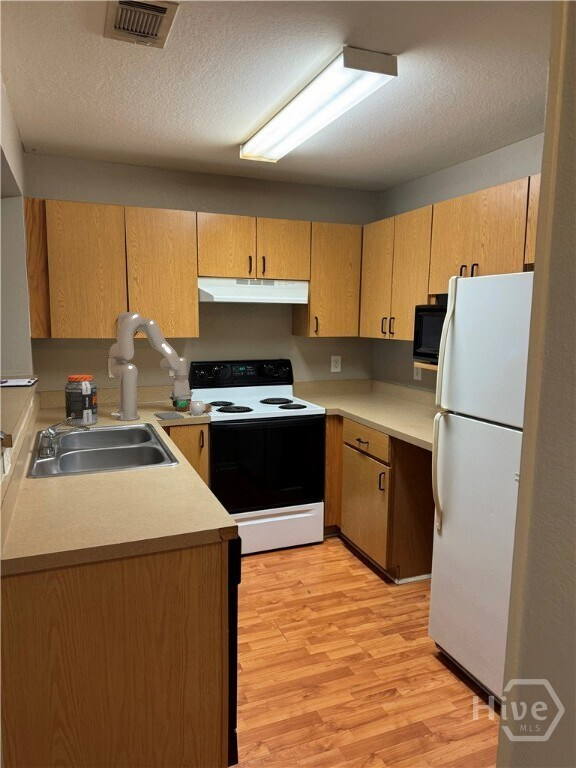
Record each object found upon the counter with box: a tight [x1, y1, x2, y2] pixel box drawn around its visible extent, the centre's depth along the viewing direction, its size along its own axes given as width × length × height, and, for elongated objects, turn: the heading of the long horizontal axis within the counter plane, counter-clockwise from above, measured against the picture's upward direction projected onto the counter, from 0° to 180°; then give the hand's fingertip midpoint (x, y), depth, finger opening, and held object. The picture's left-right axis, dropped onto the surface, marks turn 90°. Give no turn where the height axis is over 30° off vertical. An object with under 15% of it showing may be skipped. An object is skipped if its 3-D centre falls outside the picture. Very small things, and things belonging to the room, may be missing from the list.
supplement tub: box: [64, 374, 99, 427], centre depth 273 cm, size 16×16×26 cm
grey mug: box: [190, 400, 206, 417], centre depth 304 cm, size 8×7×8 cm
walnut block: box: [203, 403, 213, 414], centre depth 312 cm, size 5×5×5 cm
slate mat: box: [153, 411, 185, 421], centre depth 298 cm, size 12×16×1 cm
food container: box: [174, 396, 192, 413], centre depth 314 cm, size 12×6×10 cm, turn 61°
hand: (180, 406), depth 315 cm, fingers open, 7 cm apart
